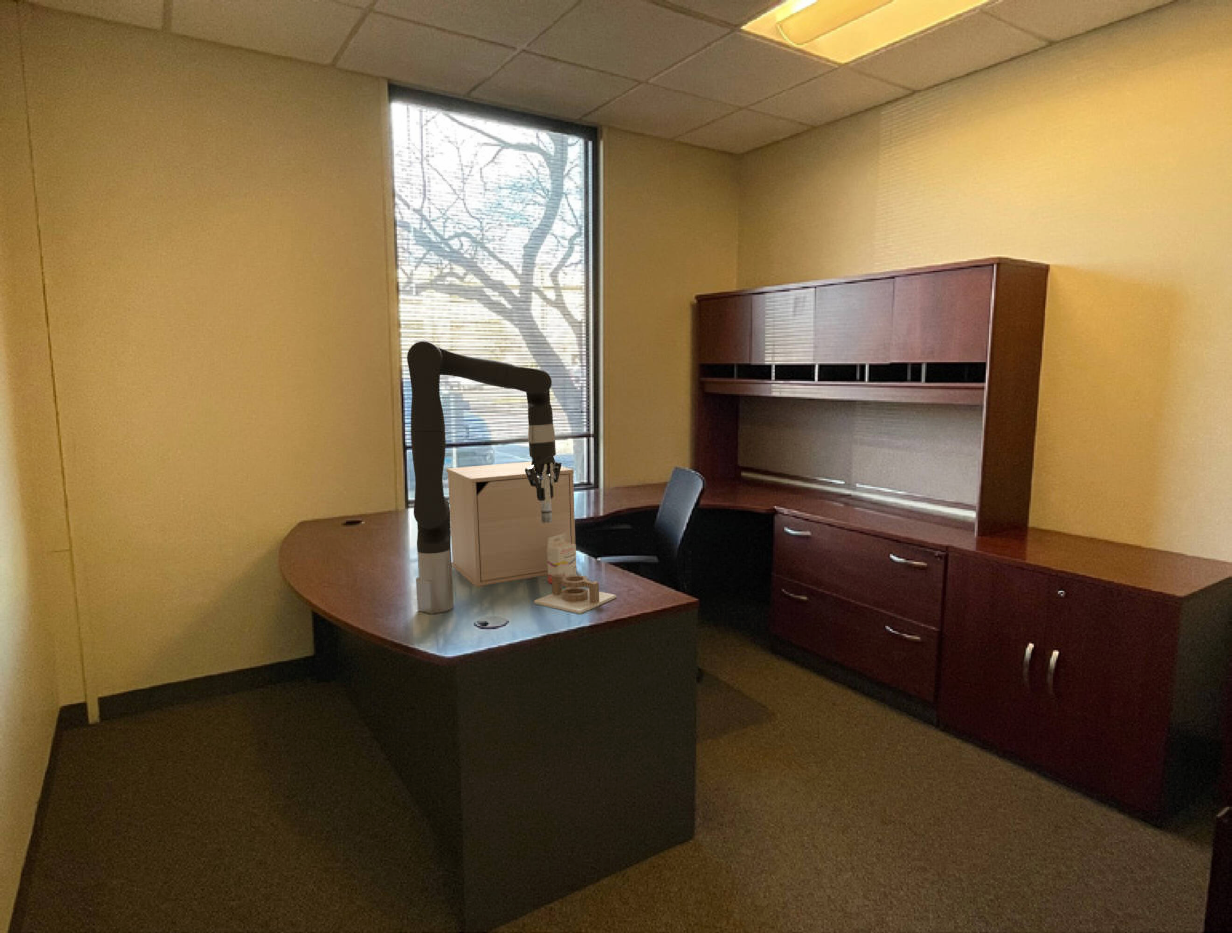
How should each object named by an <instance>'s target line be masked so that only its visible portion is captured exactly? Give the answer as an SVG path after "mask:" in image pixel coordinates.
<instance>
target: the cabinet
mask: <svg viewBox="0 0 1232 933" xmlns="http://www.w3.org/2000/svg"><path fill="white" fill-rule="evenodd" d="M531 463H532V461H523V462H520V461H519V462H509V463H508V462H507V463H497V464H486V465H484V464H483V465H474V466H462V467H460V466H459V467H450V468H449V467H447V468H446V472H447V481H448V483H447V484H448V496H449V497H448V499H449V500H448V503H449V507H450V526H451V564H452V568H454V569H455V570H457V572H458V573H460V574H461V575H462V576H463V577H464V578H466V580H468V581H469V582H470V583H471V584H472V585H473V586H474V587H480V586H487V585H493V584H499V583H506V582H512V581H518V580H524V579H531V578H537V577H542V576H543V577H544V576H548V555H547V547H548V538H549V537H553V536H557V535H561V534H566V538H565V542H566V543H572V544H576V527H575V526H576V522H575V490H574V483H575V482H574V473H575V472H574V471H575V470H574V469H573V468H569V467H566V466H562V465H561V469H560V474H559V479H558V482H555V483H554V485H553V493H554V495H553V498H551V511H552V522H549V523H542V518H541V502H540V501H539V500H538V499H537V489H536V487H533V486H531V485H530V483H529V480H528V478H527V475H526V473H525V468H529V467H530V466H531ZM554 478H555V475H554ZM558 540H560V538H559V539H558V538H556V539H555V540H554V541H558ZM577 568H578V567H577V566H576V571H577Z"/></svg>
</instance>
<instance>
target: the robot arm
mask: <svg viewBox="0 0 1232 933" xmlns="http://www.w3.org/2000/svg"><path fill="white" fill-rule="evenodd" d="M406 361H407V362H406V363H407V366H408V367H407V368H408V372H409V381H410V387H411V405H410V441H411V442H410V443H411V455H412V463H413V464H412V465H413V471H414V478H415V479H414V481H415V482H414V484H415V485H414V501H413V502H414V503H413V504H414V505H413V517H414V520H415V521H416V525H417V527H416V528H417V536H416V538H417V539H416V552H417V568H418V570H417V571H418V577H416V578H415V586H416V600H417V601H416V602H417V604H416V605H417V611H418V612H423V613H426V614H430V615H434V614H440V613H445V612H448V611H451V610H453V608H454V607H455V606H454V604H455V603H454V602H455V601H454V588H453V587H454V586H453V584H454V583H453V566H452V563H451V562H452V542H451V523H450V504H449V500H448V499H447V497H446V496H445V494H444V492H445V491H444V484H443V483H444V482H443V481H444V480H443V476H444V475H443V474H444V466H445V459H446V445H447V444H446V443H447V440H446V424H445V422H446V421H445V417H444V416H445V415H444V410H443V405H442V400H441V394H440V393H441V392H440V391H441V390H440V385H441V384H440V383H441V382H440V380H441V376H449V377H457V378H462V379H467V380H470V381H473V382H476V383H481V384H484V385H488V386H493V387H498V388H504V389H509V390H510V389H511V390H517V391H520V392H524V393H526V400H527V421H528V430H527V436H528V437H527V438H528V449H529V450H528V452H529V457H530V458H531V462H532V463H531V466H530V467H529V468H525V473H526V475H527V478H528V480H529V483H530V485H531V486H533V487H536V489H537V499H538V500H539V501H544V500H545V490H544V488H543V487H544V480H545V479H546V474H549V479H550V495H551V498H553V495H554V493H553V485H554V483H555V482H558V479H559V474H560V469H561V466H562V463H561V462H558V461H556V460H555V456H556V455H557V452H556V451H557V449H556V436H555V427H554V416H553V408H552V404H551V392H550V390H551V387H552V386H553V383H552V382H553V381H552V378H551V375H550V374H549V373H548V372H547V371H545V370H543V369H537V368H531V367H524V366H519V365H515V364H512V363H508V362H505V361H499V360H494V359H489V358H484V357H481V358H480V357H475V356H468V355H463V354H459V353H456V352H452V351H449V350H446V349H445V348H444V349H443V348H441V347H439V346H437V345H436V344H435V343H432V342H431V341H426V340H421V341H417V342H415V343H414V344H412V346H410V348H409V349H408V351H407V354H406ZM554 475H555V478H554ZM539 476H541V477H539ZM539 480H540V483H539Z"/></svg>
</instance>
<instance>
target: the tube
mask: <svg viewBox="0 0 1232 933" xmlns="http://www.w3.org/2000/svg"><path fill="white" fill-rule="evenodd" d="M539 477H541V476H539ZM539 483H540V480H539ZM543 488H544V490H545V500H544V501H540V502H541V518H542V523H549V522H552V511H551V495H550V479H549V474H546V479H545V480H544V487H543Z"/></svg>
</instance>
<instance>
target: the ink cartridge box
mask: <svg viewBox="0 0 1232 933" xmlns="http://www.w3.org/2000/svg"><path fill="white" fill-rule="evenodd" d="M556 538H558V539H559V538H560V540H558V541H554V540H555V539H556ZM565 538H566V534H561V535H557V536H553V537H549V538H548V547H547V555H548V575H547V583H549V584H552V575H555V574H559V575H563V576H572V575H577V570H576V567H577V544H576V543H575V544H572V543H566V542H565Z"/></svg>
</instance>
